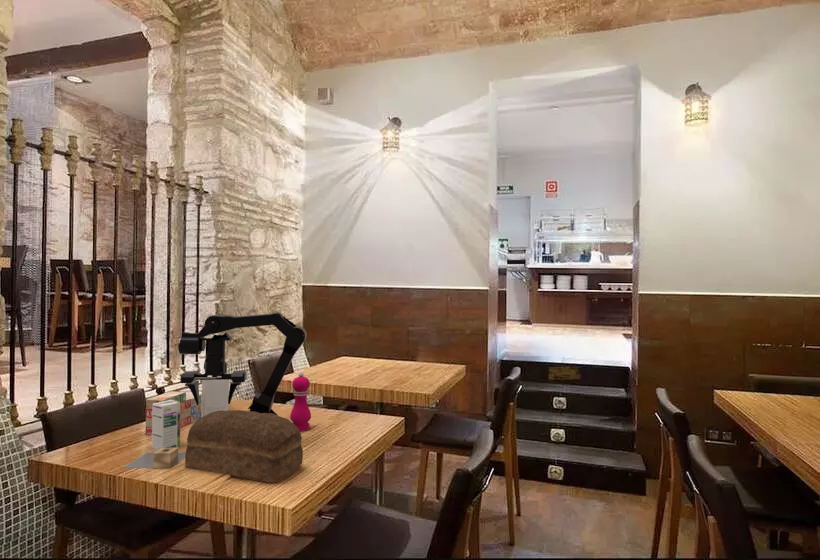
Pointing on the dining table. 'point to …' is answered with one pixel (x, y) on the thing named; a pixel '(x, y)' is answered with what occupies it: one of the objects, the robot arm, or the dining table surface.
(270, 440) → the bread
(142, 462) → the slate board
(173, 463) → the oak block
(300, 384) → the pepper mill
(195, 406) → the stack of blocks
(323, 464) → the dining table surface
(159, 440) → the syrup box
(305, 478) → the dining table surface
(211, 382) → the supplement box
